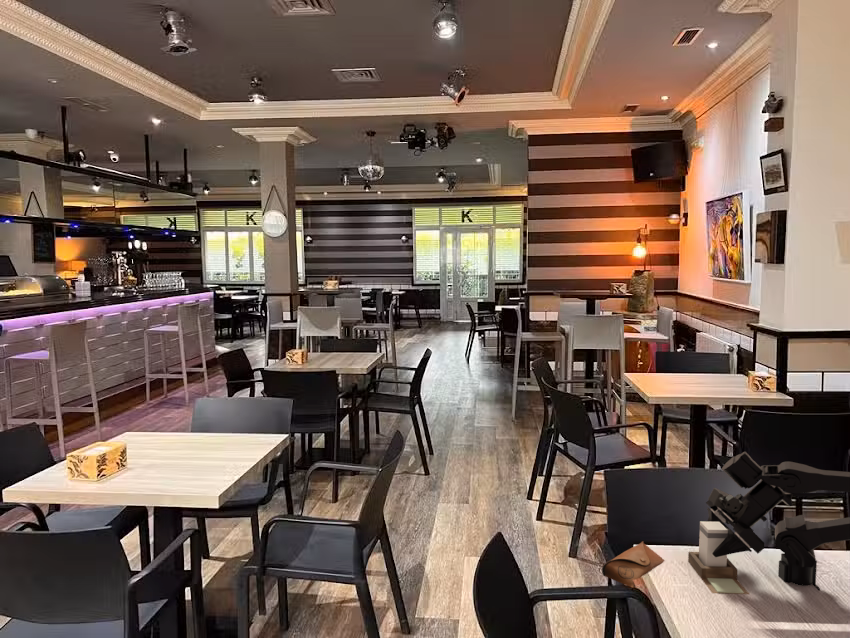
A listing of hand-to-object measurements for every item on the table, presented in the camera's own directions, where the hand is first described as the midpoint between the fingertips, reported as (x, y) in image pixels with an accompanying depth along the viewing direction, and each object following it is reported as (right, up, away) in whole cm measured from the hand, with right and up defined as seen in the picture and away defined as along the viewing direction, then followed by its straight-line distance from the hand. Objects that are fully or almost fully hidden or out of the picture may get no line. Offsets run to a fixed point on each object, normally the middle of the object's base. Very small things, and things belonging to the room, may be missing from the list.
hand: (706, 547), depth 139 cm
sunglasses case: (-15, -7, +3) cm, 17 cm away
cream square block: (+1, -6, 0) cm, 6 cm away
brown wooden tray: (+1, -7, -3) cm, 7 cm away
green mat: (+1, -7, -7) cm, 10 cm away
